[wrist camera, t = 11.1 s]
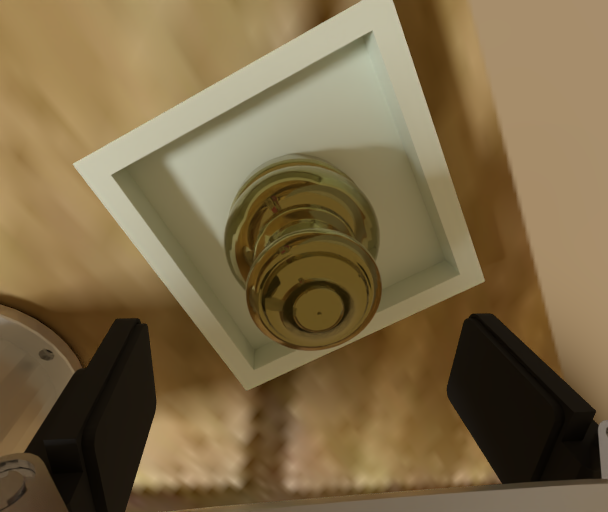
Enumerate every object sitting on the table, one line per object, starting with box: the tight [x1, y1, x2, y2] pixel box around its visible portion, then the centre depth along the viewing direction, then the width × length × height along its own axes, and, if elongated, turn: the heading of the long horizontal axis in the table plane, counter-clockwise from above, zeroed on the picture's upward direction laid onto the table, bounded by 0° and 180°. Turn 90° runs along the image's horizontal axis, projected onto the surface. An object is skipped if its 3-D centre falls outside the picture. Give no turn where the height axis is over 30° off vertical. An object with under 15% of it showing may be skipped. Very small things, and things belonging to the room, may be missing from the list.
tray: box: [73, 0, 485, 391], centre depth 22 cm, size 16×16×3 cm
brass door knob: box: [224, 154, 382, 351], centre depth 17 cm, size 7×7×10 cm
